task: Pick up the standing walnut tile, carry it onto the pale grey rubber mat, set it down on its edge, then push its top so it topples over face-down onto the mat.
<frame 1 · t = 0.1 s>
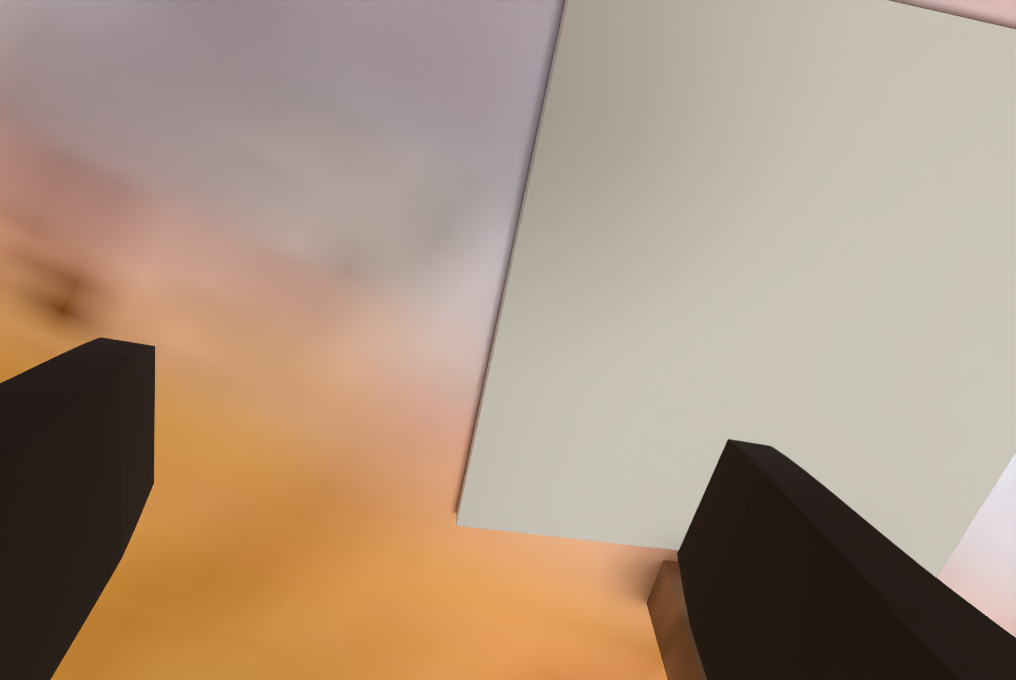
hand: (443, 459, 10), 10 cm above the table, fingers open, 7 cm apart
mat: (794, 323, 20), on the table
tile: (766, 592, 26), on the table
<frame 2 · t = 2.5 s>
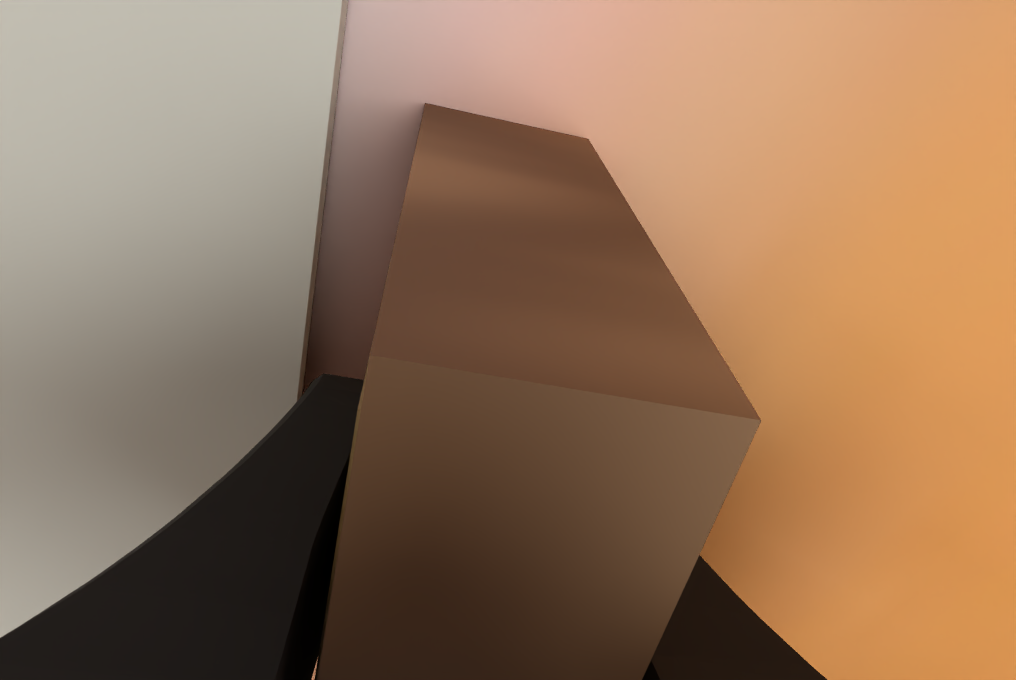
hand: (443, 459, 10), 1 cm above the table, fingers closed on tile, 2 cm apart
tile: (446, 398, 11), on the table, touching gripper
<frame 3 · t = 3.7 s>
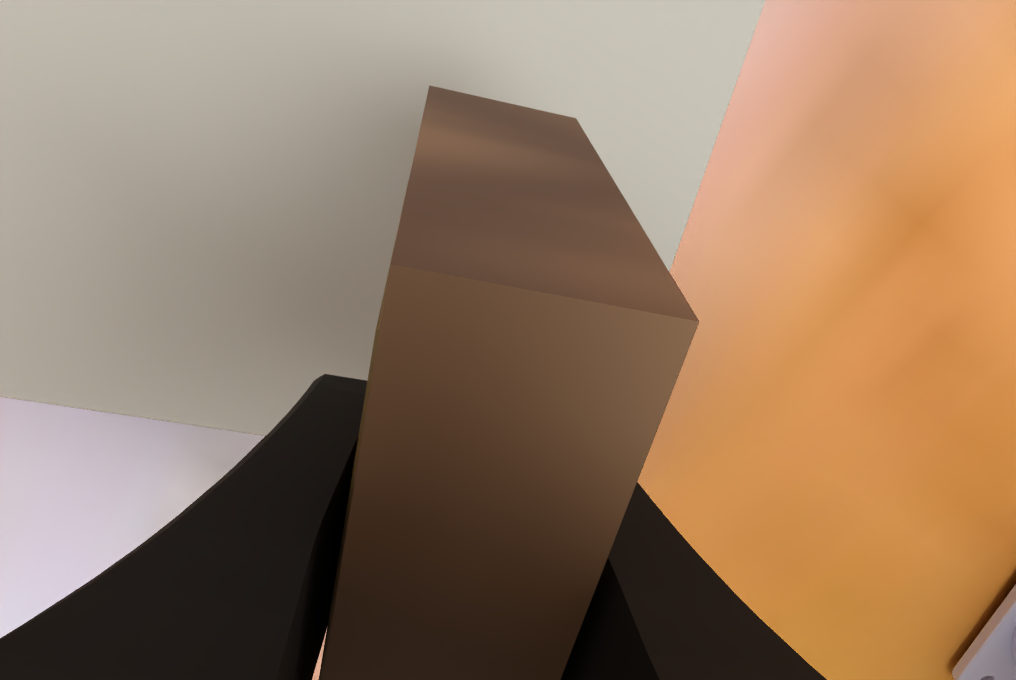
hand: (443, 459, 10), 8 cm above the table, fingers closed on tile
mat: (326, 113, 15), on the table
tile: (448, 358, 12), point 6 cm above the table, touching gripper
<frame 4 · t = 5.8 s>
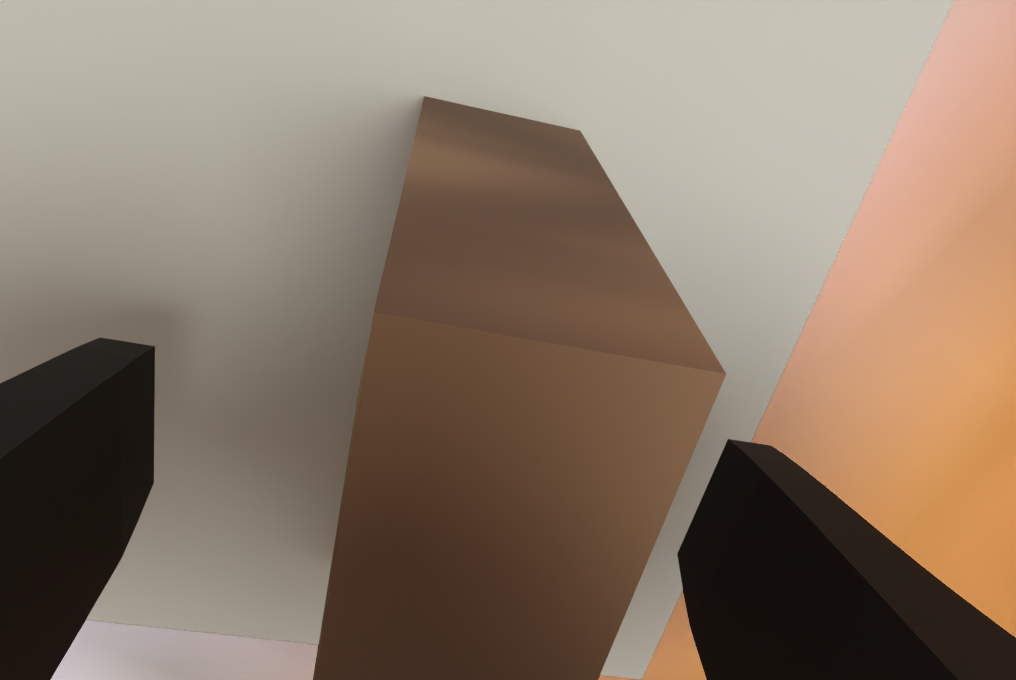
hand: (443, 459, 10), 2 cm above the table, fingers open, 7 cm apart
mat: (257, 204, 10), on the table
tile: (444, 381, 11), resting on mat
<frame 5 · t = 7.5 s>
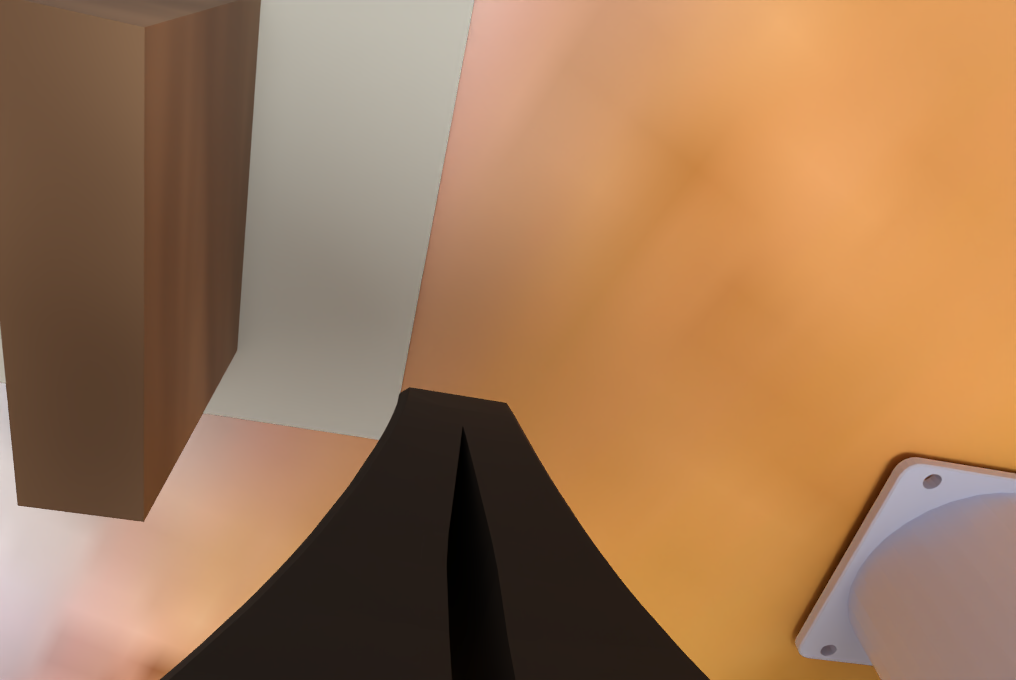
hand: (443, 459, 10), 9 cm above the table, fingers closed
mat: (58, 50, 15), on the table
tile: (200, 182, 16), resting on mat
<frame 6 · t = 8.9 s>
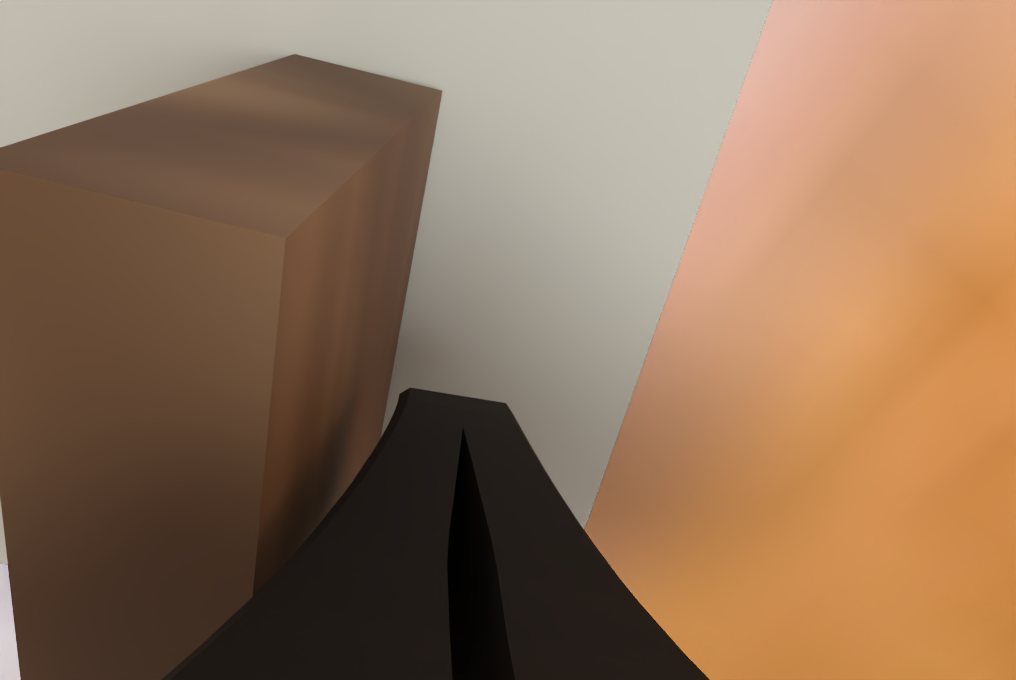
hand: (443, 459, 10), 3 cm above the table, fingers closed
mat: (150, 159, 11), on the table
tile: (334, 334, 12), point 1 cm above the table, tilted 8°, touching mat
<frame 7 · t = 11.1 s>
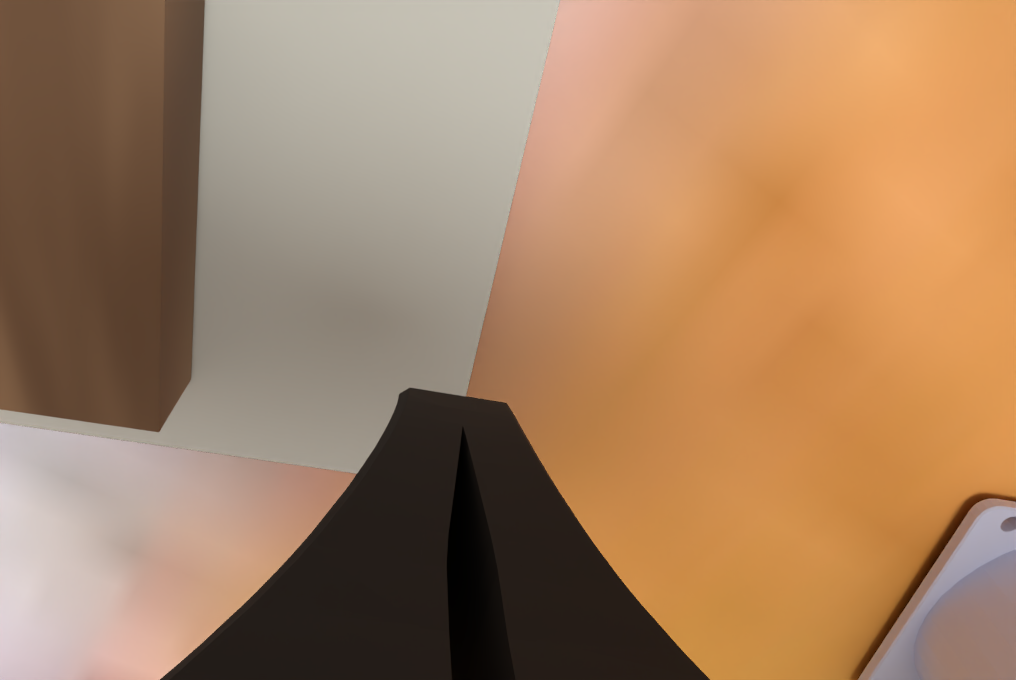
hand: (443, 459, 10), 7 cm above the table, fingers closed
mat: (101, 77, 14), on the table
tile: (180, 226, 14), point 2 cm above the table, tilted 90°, touching mat
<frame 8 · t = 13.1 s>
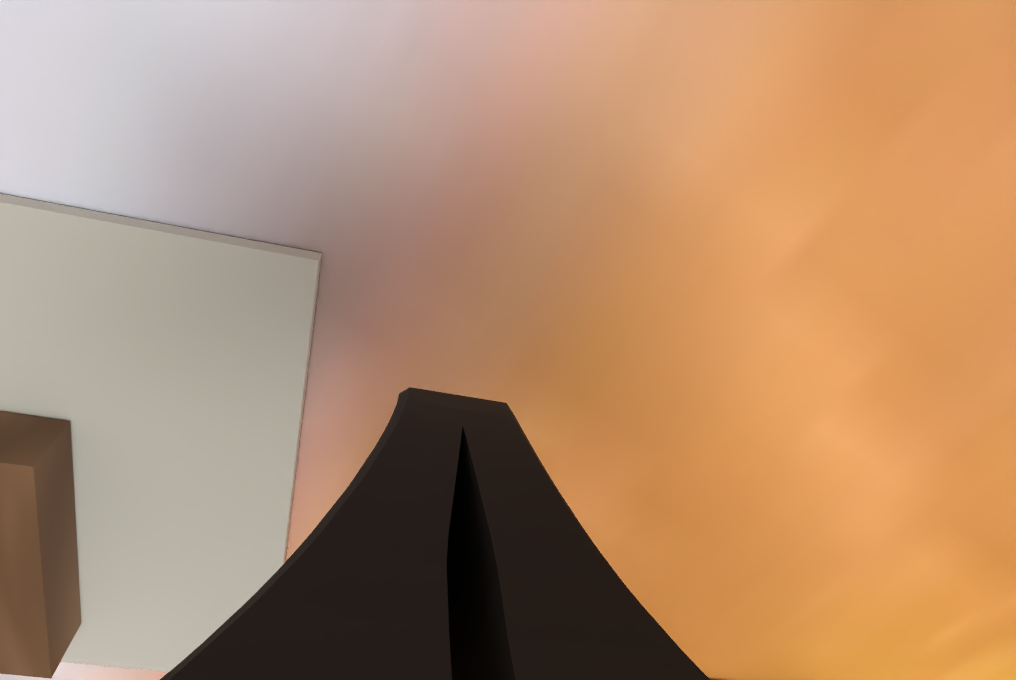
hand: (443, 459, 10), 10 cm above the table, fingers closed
mat: (9, 456, 22), on the table
tile: (60, 555, 21), point 2 cm above the table, tilted 90°, touching mat
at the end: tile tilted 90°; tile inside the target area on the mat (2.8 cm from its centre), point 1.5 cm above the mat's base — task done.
